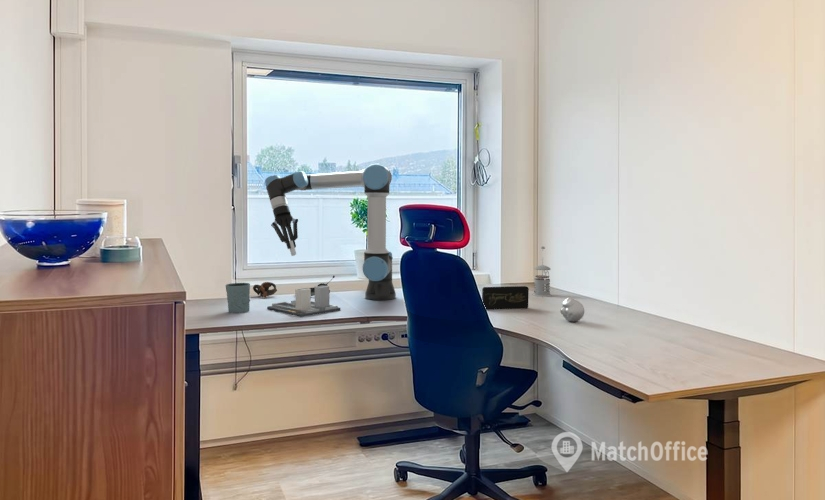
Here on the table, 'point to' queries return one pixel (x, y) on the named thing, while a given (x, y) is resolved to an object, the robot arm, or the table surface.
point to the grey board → (291, 310)
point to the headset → (318, 285)
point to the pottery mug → (265, 289)
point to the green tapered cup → (238, 297)
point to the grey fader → (322, 296)
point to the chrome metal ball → (572, 309)
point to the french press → (542, 282)
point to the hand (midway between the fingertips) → (293, 254)
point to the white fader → (303, 299)
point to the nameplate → (505, 297)
